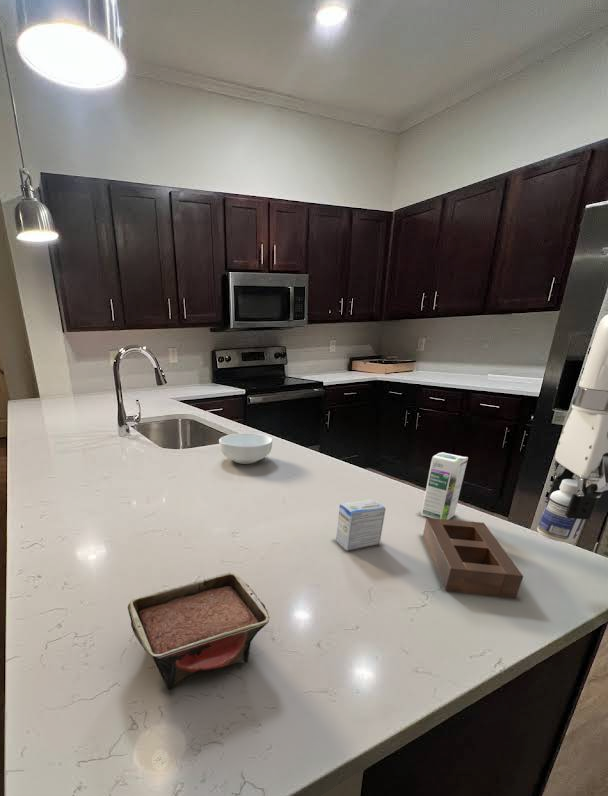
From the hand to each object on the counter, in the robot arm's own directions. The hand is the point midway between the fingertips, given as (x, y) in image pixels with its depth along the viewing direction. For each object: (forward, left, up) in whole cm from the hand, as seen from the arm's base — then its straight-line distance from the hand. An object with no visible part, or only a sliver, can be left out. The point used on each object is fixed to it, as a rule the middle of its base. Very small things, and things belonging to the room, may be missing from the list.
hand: (567, 508), depth 70 cm
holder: (+13, -1, -13) cm, 19 cm away
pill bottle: (0, 0, -5) cm, 5 cm away
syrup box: (+13, -22, -13) cm, 29 cm away
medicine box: (+32, -5, -13) cm, 35 cm away
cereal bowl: (+64, -53, -13) cm, 84 cm away
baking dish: (+56, +30, -13) cm, 65 cm away
